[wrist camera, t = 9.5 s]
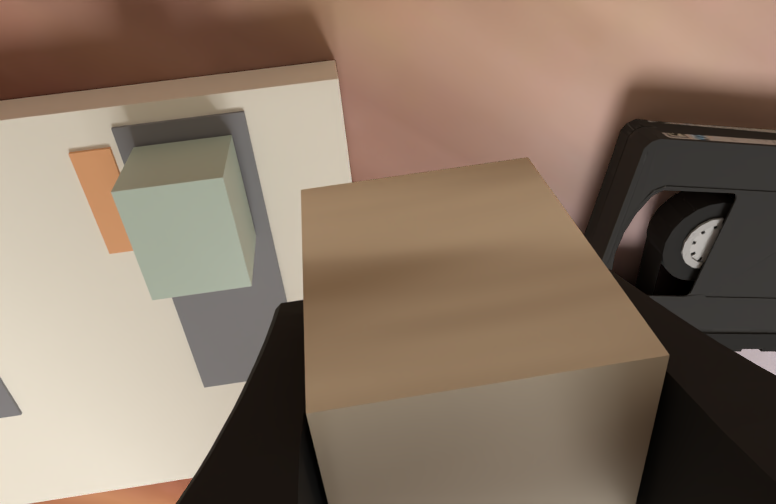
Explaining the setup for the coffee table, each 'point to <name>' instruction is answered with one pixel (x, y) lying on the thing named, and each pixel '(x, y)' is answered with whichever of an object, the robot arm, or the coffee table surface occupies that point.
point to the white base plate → (140, 275)
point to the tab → (187, 216)
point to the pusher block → (470, 345)
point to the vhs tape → (699, 223)
